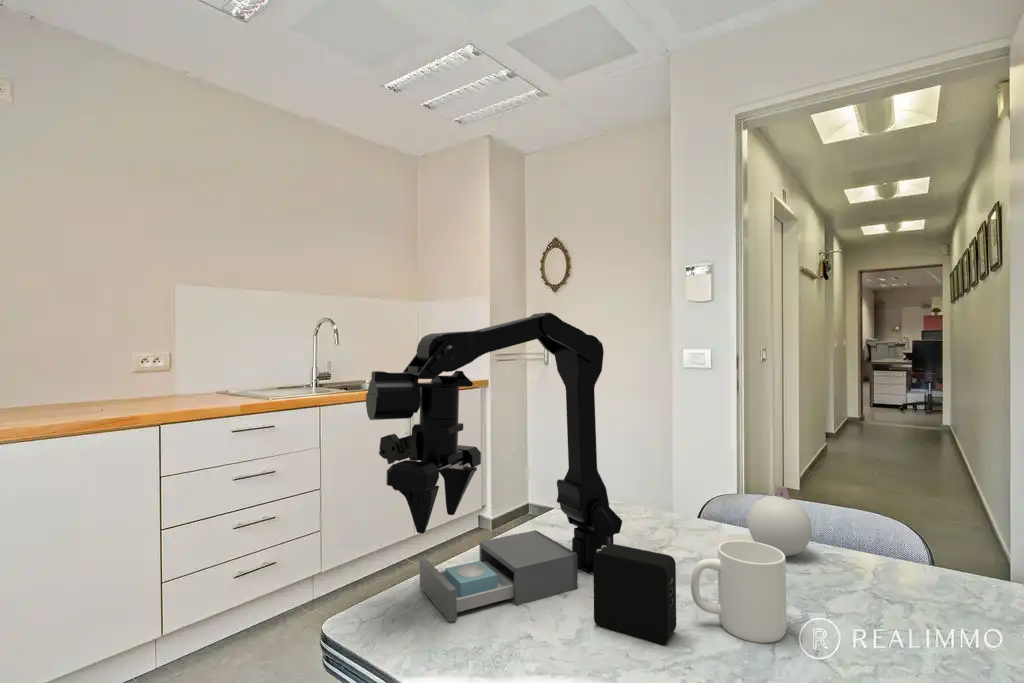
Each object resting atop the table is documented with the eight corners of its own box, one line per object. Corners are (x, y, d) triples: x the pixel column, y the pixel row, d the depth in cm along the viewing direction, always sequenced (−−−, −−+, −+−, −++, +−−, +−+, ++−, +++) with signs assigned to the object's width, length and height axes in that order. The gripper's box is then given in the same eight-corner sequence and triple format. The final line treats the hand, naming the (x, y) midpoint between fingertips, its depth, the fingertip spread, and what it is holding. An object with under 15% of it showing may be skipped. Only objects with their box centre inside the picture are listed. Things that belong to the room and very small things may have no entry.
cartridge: (480, 575, 85) (480, 559, 85) (497, 590, 80) (497, 573, 80) (445, 584, 82) (445, 567, 82) (460, 600, 77) (460, 582, 77)
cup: (797, 646, 67) (796, 565, 67) (698, 640, 68) (697, 561, 68) (772, 613, 75) (771, 541, 75) (684, 609, 77) (684, 538, 77)
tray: (483, 571, 89) (483, 546, 89) (520, 602, 78) (520, 573, 78) (419, 586, 84) (419, 559, 84) (449, 621, 73) (449, 590, 73)
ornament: (813, 550, 98) (812, 484, 98) (809, 569, 90) (809, 498, 90) (753, 539, 104) (752, 477, 104) (744, 557, 95) (743, 489, 95)
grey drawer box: (536, 560, 94) (535, 530, 94) (577, 588, 83) (577, 553, 83) (479, 574, 89) (479, 541, 89) (516, 605, 78) (516, 568, 78)
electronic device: (667, 647, 67) (666, 567, 67) (593, 625, 72) (593, 551, 72) (676, 632, 70) (675, 556, 71) (605, 612, 76) (604, 541, 76)
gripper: (423, 408, 91) (420, 501, 90) (354, 420, 73) (351, 535, 73) (483, 412, 87) (481, 509, 86) (426, 426, 69) (423, 547, 69)
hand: (436, 523), depth 79 cm, fingers open, 9 cm apart
